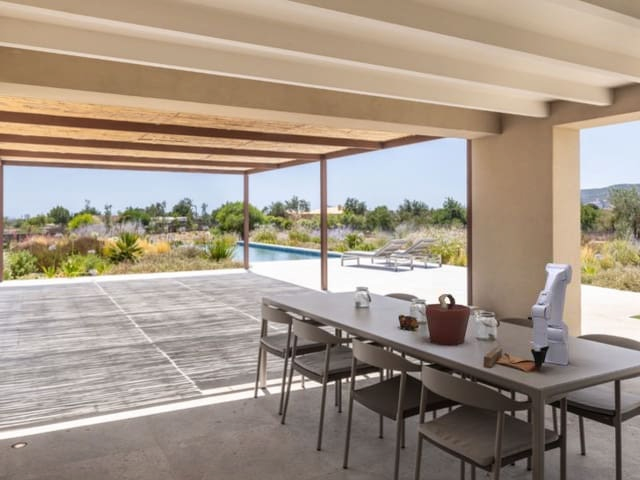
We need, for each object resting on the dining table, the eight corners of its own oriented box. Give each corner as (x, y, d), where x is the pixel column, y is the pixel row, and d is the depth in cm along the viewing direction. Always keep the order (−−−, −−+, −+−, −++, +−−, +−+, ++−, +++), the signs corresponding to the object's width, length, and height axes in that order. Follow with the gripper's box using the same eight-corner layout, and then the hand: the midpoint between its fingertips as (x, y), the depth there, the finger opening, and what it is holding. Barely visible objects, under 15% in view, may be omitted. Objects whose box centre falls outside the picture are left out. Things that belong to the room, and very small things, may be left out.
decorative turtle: (402, 326, 311) (404, 313, 311) (423, 331, 300) (424, 318, 299) (392, 327, 305) (393, 313, 304) (412, 333, 293) (413, 319, 293)
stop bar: (501, 357, 238) (501, 348, 238) (490, 368, 221) (490, 357, 221) (495, 356, 239) (495, 347, 239) (483, 367, 223) (483, 356, 222)
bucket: (453, 349, 253) (453, 298, 252) (414, 342, 268) (414, 294, 267) (475, 341, 271) (476, 294, 270) (438, 335, 286) (438, 290, 285)
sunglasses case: (492, 363, 229) (497, 349, 230) (500, 368, 232) (505, 355, 234) (528, 372, 214) (533, 358, 215) (537, 379, 217) (542, 364, 219)
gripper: (533, 328, 228) (533, 359, 228) (527, 334, 215) (526, 367, 216) (550, 330, 224) (550, 361, 224) (545, 336, 212) (544, 369, 212)
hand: (539, 364), depth 220 cm, fingers open, 7 cm apart
